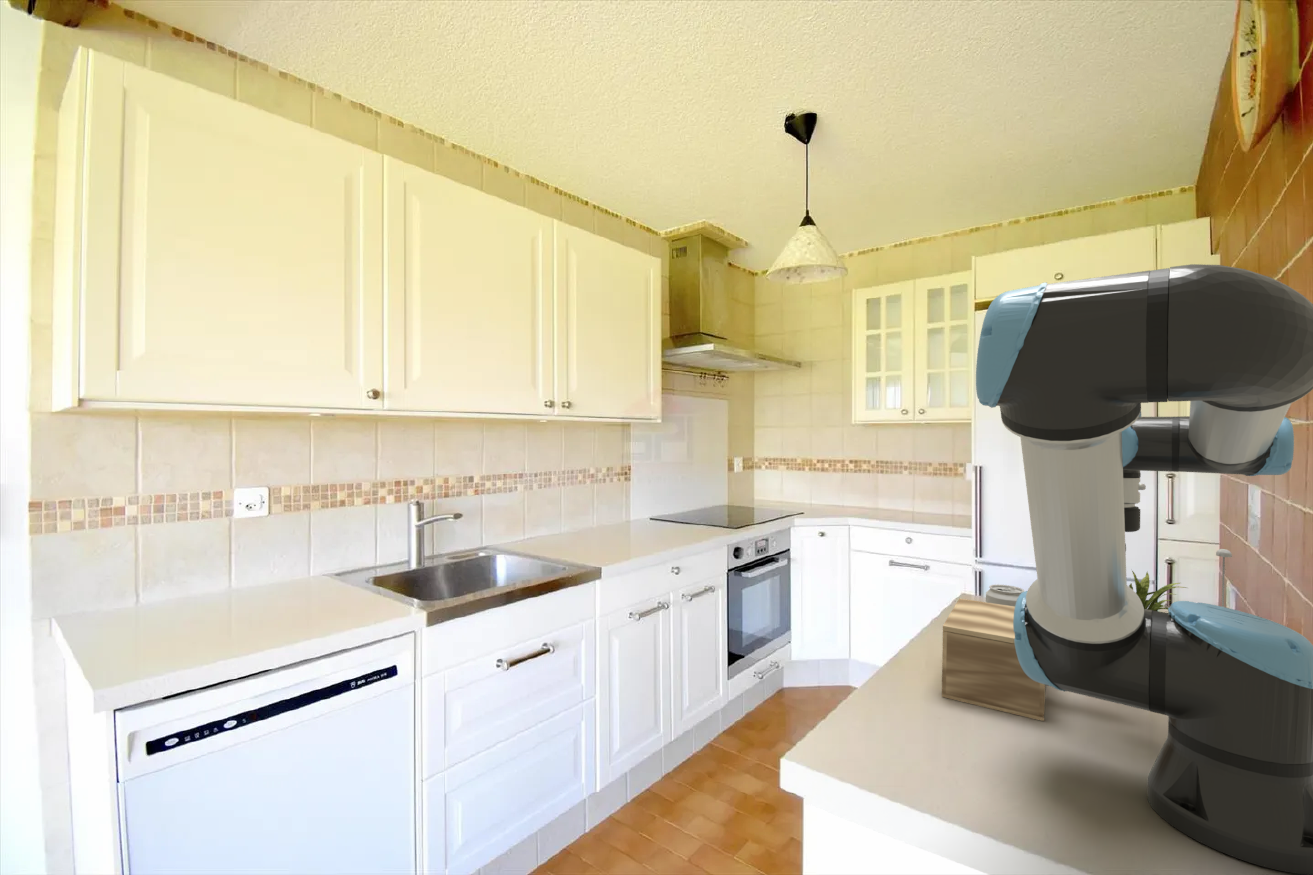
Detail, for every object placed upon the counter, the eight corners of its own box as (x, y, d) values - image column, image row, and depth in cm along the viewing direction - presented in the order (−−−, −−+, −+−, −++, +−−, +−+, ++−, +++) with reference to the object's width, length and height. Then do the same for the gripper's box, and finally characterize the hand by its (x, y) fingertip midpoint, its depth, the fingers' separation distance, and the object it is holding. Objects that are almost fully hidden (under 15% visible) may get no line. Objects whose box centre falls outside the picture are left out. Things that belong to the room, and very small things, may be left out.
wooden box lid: (1134, 680, 82) (1135, 637, 82) (942, 643, 96) (943, 606, 96) (1121, 639, 99) (1121, 604, 99) (959, 613, 113) (959, 582, 113)
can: (977, 638, 124) (978, 582, 124) (1014, 639, 124) (1014, 583, 124) (997, 651, 117) (998, 591, 117) (1035, 652, 116) (1036, 592, 116)
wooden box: (1043, 721, 88) (1045, 649, 88) (941, 696, 96) (942, 631, 96) (1045, 676, 105) (1046, 616, 105) (958, 658, 113) (959, 602, 113)
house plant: (1204, 673, 107) (1205, 584, 107) (1110, 660, 113) (1111, 575, 113) (1175, 648, 120) (1176, 568, 120) (1092, 637, 126) (1094, 561, 126)
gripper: (1151, 515, 80) (1148, 670, 80) (1131, 497, 100) (1129, 621, 100) (1083, 510, 84) (1080, 658, 84) (1077, 494, 104) (1075, 613, 105)
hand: (1107, 638), depth 92 cm, fingers open, 13 cm apart
